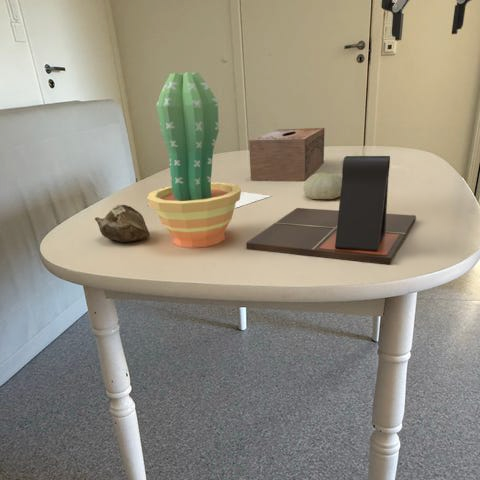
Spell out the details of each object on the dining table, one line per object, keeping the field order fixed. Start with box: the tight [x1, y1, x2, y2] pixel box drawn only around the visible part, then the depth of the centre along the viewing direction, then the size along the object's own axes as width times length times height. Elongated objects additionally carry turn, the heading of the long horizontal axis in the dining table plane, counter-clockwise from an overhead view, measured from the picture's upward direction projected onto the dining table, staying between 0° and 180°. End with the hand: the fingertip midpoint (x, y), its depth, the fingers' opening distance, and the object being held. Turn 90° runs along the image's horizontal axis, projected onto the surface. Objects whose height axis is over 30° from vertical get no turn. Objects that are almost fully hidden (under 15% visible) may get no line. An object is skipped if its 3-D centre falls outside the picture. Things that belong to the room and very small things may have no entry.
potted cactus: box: [146, 71, 242, 249], centre depth 70 cm, size 15×15×25 cm
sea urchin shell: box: [303, 172, 342, 201], centre depth 96 cm, size 9×8×8 cm
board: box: [245, 207, 417, 265], centre depth 74 cm, size 22×22×1 cm
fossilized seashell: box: [94, 204, 150, 243], centre depth 78 cm, size 8×7×10 cm
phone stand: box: [335, 155, 391, 251], centre depth 64 cm, size 9×6×12 cm, turn 157°
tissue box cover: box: [248, 127, 326, 182], centre depth 124 cm, size 26×14×10 cm, turn 160°
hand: (425, 37), depth 72 cm, fingers open, 8 cm apart
